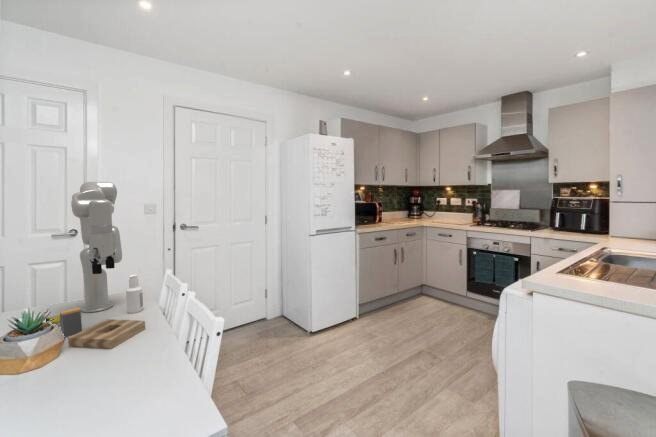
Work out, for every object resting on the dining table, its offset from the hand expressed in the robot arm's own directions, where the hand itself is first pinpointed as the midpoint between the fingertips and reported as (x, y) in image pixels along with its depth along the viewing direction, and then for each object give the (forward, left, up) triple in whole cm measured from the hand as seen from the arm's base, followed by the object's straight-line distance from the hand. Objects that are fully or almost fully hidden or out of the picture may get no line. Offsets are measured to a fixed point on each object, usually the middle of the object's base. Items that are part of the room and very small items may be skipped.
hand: (104, 270), depth 130 cm
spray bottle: (-17, +17, -26) cm, 36 cm away
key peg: (-10, -10, -26) cm, 30 cm away
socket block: (+7, -2, -26) cm, 27 cm away
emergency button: (-29, -15, -27) cm, 42 cm away
